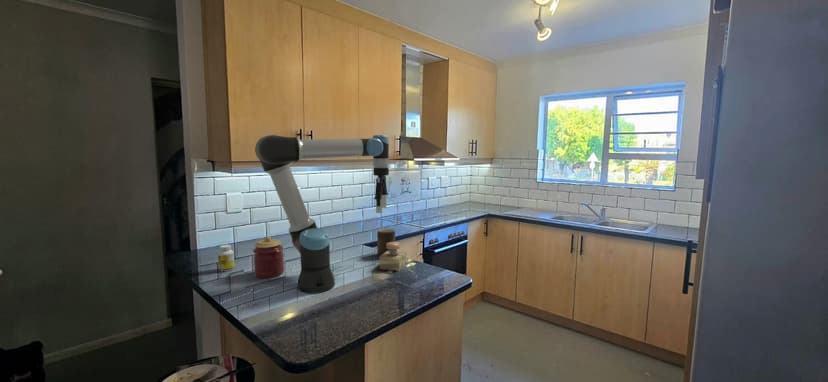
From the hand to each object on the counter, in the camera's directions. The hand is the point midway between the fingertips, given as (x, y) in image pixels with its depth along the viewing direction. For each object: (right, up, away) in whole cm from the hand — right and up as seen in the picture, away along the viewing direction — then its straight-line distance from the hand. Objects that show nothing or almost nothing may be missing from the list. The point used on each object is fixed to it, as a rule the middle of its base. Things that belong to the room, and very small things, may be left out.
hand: (381, 210), depth 172 cm
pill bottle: (-73, -28, -6) cm, 79 cm away
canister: (-51, -29, -11) cm, 59 cm away
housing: (+6, -27, -2) cm, 28 cm away
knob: (+6, -23, -3) cm, 24 cm away
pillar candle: (+1, -25, +16) cm, 30 cm away
